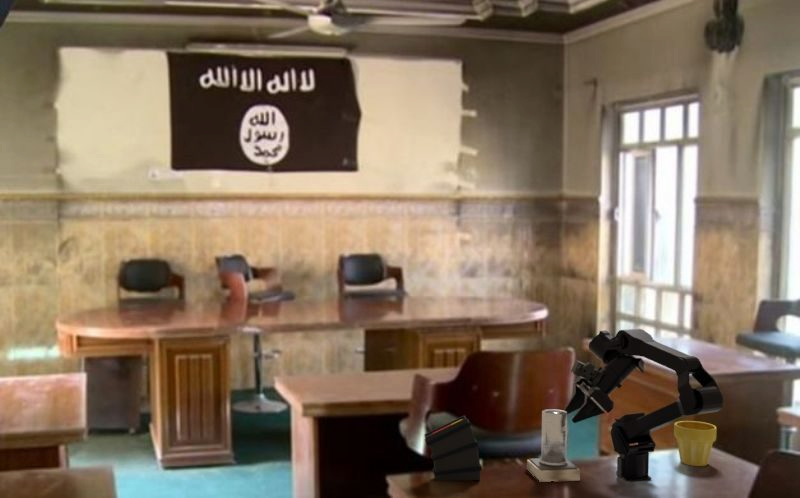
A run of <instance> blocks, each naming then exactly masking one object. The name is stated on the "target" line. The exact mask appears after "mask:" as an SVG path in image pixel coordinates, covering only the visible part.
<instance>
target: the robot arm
mask: <svg viewBox="0 0 800 498" xmlns="http://www.w3.org/2000/svg"><path fill="white" fill-rule="evenodd" d="M588 350H589V351H590V353H592V354H593V355H594V356H595V357H596V358H597V359H598V360H599V361H601V363H603V364H605V365H604V366H602V365H600V366H597V367H596V368H595V365H594V364H591V363H590V362H586V363H584V362H581V361H580V360H577V359H576V360H575V362H574V364H573V366H572V368H571V369H570V372H571V373H572V374H573V375H575V376H577V377H576V378H575V379H574V380H573V382H574V383H573V394H572V396H571V398H570V399H569V401H568V402H567V404H566V405H565V408H564V409H563V411H566V412H567V415H568V414H571V413H574V412H575V411H577V412H575V414H574V415H573V417H572V418H571V421H572V422H573V423H574V424H576V423H579V422H582V421H585V420H588V419H592V418H593V417H597V416H599V415H602V414H603V415H605V414H606V413H607V414H609V413H610V412H612V410H613V409H614V401H613V400H612V399H611V398H610V396H609V395H611V394H612V393H613V392H614V391H615V390H616V389H617V388H618V389H621V388H622V383H623V382H625V380H626V379H627V378H628V377H629V376H630V375H631V374H632V373H633V372H634V371H635V370H636V369H637V370H638V371H639V372H640V373H641V374H643V373H645V368H644V365H645V361H644V360H643V359H642V358H645V359H648V360H650V361H652V362H654V363H656V364H659V365H661V366H663V367H665V368H666V369H667V368H668V369H670V370H671V371H672V370H673V371H674V372H675V374H676V376H677V391H678V394H679V395H678V398H676V399H677V400H676V401H674V402H672V403H669V404H667V405H665V406H663V407H660V408H658V409H656V410H653V411H651V412H649V413H646V414H645V412H644V411H642V412H634V413H627V414H625V415H624V414H623V416H621V417H618V418H614V422H613V423H612V424H611V429H610V437H611V441H612V446H613V449H614V450H613V451H614V452H615V453H617V454H618V455H619V456H617V459H616V460H617V463H616V472H615V473H616V475H618V476H620V477H621V478H622V479H623V480H625V481H626V482H627V481H628V482H630V481H650V480H652V477H651V476H650V475H649V462H650V458H649V457H650V453H653V452H655V449H656V443H655V441H654V439H653V437H652V433H653V432H655V431H657V430H659V429H662V428H665V427H667V426H669V425H671V424H675V423H676V422H679V421H683V420H684V419H686V418H688V417H691V416H697V415H703V414H709V413H717V412H719V411H721V410H722V409H723V404H724V402H723V401H724V398H723V397H724V396H723V394H722V392H721V390H720V388H719V386H718V384H717V381H716V379H715V378H714V377H713V376H712V375H711V374H710V373H709V372H708V371H707V370H706V369H705V368H704V366H703V364H702V362H701V360H700V359H699V358H698V357H696V356H695V355H689V354H687V353H685V352H681V351H679V350H677V349H674V348H673V347H671V346H668V345H665V344H663V343H661V342H658V341H656V340H655V339H653V337H652V335H651V333H649V332H647V331H645V330H644V329H642V328H632V329H619V330H618V331H617V333H616V334H615V336H613V335H611V333H610V332H609V331H608V330H599V333H598V334H597V335H595V336H594V337H593V338H592V339H591V340H590V341H589V343H588ZM637 357H639V358H637ZM641 357H642V358H641ZM690 375H691V376H692V377H693V378H694V379H695V380H696V381H697V382H698V383H699V385H700V387H692V385H691V383H690ZM605 412H606V413H605ZM630 444H631V445H630ZM632 444H633V445H632Z"/></svg>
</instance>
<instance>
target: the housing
mask: <svg viewBox="0 0 800 498" xmlns="http://www.w3.org/2000/svg"><path fill="white" fill-rule="evenodd" d="M567 429H568V414H567V412H566V411H564V409H563V410H561V409H554V408H553V409H552V408H551V409H550V408H549V409H548V408H547V409H543V410H542V411H541V450H540V451H541V452H540V457H539V458H540V464H542V465H545V466H550V467H563V466H566V465H568V461H569V460H568V459H567V443H568V442H567V440H568V439H567V438H568V435H567V434H568V430H567Z"/></svg>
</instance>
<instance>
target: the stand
mask: <svg viewBox="0 0 800 498" xmlns="http://www.w3.org/2000/svg"><path fill="white" fill-rule="evenodd" d="M540 458H541V457H538V458H536V457H535V458H529V459H527V460H526V471H527V470H528V471H529V472H530V473H531V474H532V475H531V474H530V473H529V472H528V471H527V472H528V473H529V474H530V475H531V476H532V477H534V476H535V477H536V478H537V479H538V480H539V481H538V480H537V479H536V478H535V477H534V478H535V479H536V480H537V481H538V482H539V483H547V482H549V483H550V482H551V481H554V482H575V481H576V482H577V481H581V469H580V468H579V467H577V466H576V465H575V464H573V463H572V462H571V461H570V460H568V465H566V466H563V467H550V466H545V465H542V464H540ZM559 480H560V481H559ZM561 480H562V481H561Z"/></svg>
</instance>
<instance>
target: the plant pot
mask: <svg viewBox="0 0 800 498" xmlns="http://www.w3.org/2000/svg"><path fill="white" fill-rule="evenodd" d="M673 424H674V427H673V436H674V437H675V439H676V442H677V443H676V444H677V448H678V455H679V460H680V462H681V463H682V464H684V465H687V466H693V467H705V466H707V465H708V463H709V460H710V456H711V452H712V448H713V444H714V442H716V441H717V434H718V433H717V430H718V429H717V426H716V425H714V424H712V423H708V422H705V421H695V420H694V421H693V420H679V421H677V422H674V423H673Z"/></svg>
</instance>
